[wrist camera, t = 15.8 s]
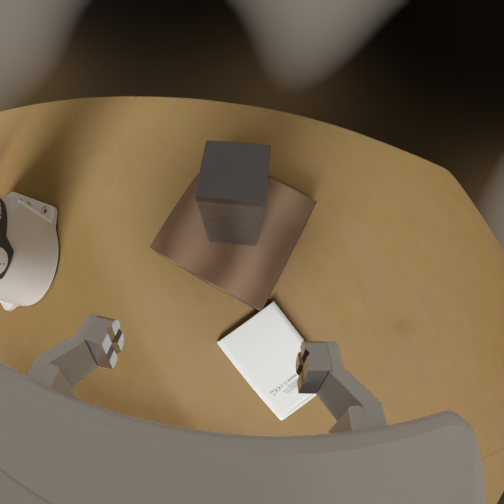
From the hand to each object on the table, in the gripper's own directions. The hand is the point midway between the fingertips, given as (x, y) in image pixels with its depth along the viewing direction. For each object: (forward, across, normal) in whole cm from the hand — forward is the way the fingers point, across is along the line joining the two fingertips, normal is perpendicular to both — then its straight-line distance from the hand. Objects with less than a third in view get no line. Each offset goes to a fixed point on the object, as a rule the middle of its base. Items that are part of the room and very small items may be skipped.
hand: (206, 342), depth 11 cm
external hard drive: (+12, -6, +18) cm, 22 cm away
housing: (+20, 0, +3) cm, 20 cm away
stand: (+23, 0, +6) cm, 24 cm away
